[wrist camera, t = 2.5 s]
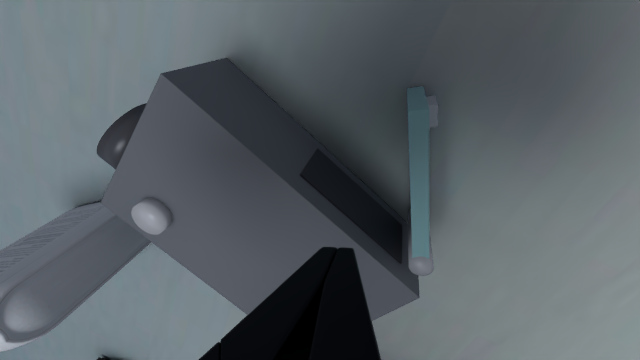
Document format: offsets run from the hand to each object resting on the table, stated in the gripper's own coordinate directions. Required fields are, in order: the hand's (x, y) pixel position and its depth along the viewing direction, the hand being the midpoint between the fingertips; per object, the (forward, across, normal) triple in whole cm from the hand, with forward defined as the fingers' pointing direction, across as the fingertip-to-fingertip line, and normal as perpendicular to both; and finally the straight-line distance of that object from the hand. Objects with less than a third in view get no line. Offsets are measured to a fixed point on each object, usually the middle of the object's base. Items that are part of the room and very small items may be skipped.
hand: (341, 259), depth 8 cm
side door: (+11, -2, +2) cm, 11 cm away
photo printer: (+11, +23, +6) cm, 27 cm away
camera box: (+11, +7, +4) cm, 14 cm away
